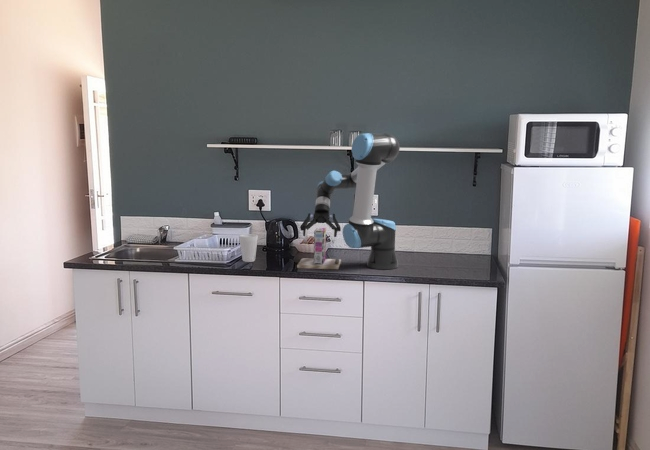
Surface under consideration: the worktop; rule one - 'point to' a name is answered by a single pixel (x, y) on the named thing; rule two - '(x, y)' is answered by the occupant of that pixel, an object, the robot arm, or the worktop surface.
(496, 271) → the worktop surface
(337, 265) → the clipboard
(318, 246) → the candy bar box
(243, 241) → the foam cup
